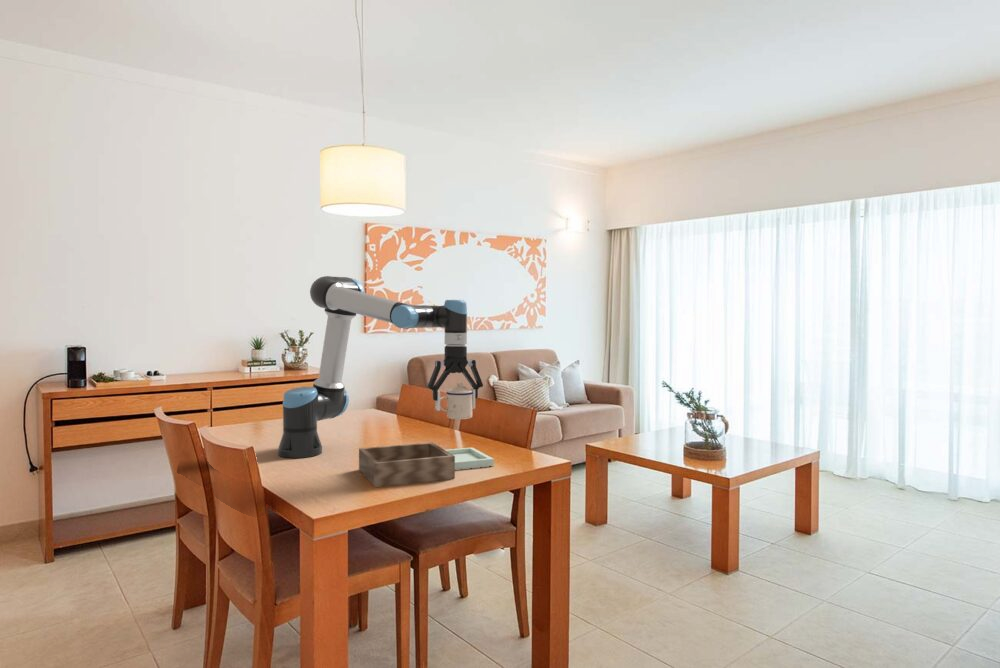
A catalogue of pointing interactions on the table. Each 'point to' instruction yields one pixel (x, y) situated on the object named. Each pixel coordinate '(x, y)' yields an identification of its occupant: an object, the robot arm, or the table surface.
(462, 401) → the teacup with lid
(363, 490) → the table surface
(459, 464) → the tray
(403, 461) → the deep box
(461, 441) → the table surface
